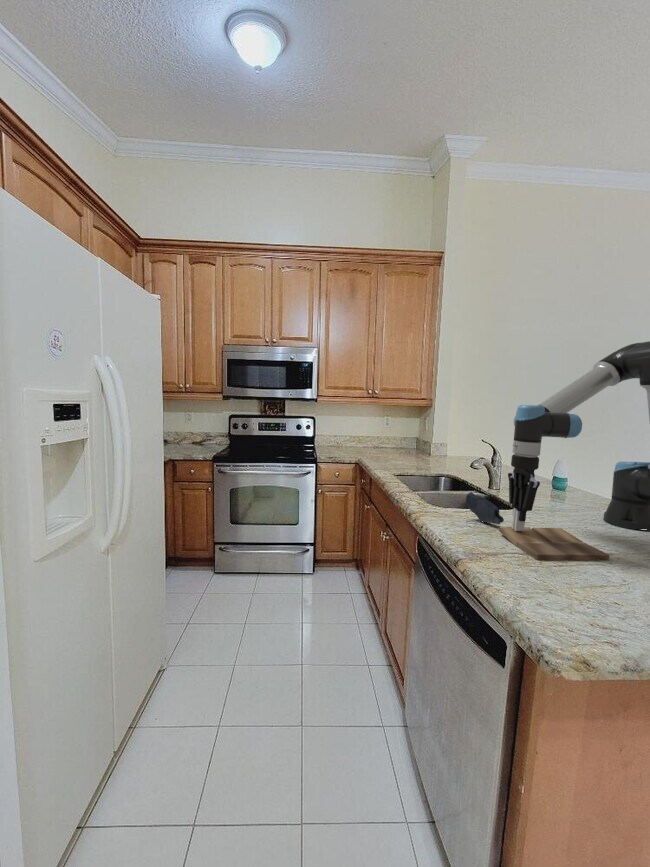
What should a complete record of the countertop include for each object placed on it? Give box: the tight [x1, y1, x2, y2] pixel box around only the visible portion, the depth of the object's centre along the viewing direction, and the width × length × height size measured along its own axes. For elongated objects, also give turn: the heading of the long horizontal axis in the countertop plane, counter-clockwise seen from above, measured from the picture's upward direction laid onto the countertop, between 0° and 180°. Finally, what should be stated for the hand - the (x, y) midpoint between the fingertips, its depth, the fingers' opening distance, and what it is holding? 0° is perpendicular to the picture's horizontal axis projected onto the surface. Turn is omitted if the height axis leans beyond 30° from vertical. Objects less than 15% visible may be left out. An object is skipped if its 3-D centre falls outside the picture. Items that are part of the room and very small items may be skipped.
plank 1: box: [498, 526, 548, 548], centre depth 118 cm, size 10×10×2 cm
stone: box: [465, 491, 505, 525], centre depth 133 cm, size 14×6×10 cm, turn 50°
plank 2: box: [531, 527, 584, 542], centre depth 119 cm, size 10×10×2 cm
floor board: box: [517, 541, 610, 561], centre depth 108 cm, size 21×9×2 cm, turn 95°
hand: (517, 529), depth 120 cm, fingers closed
